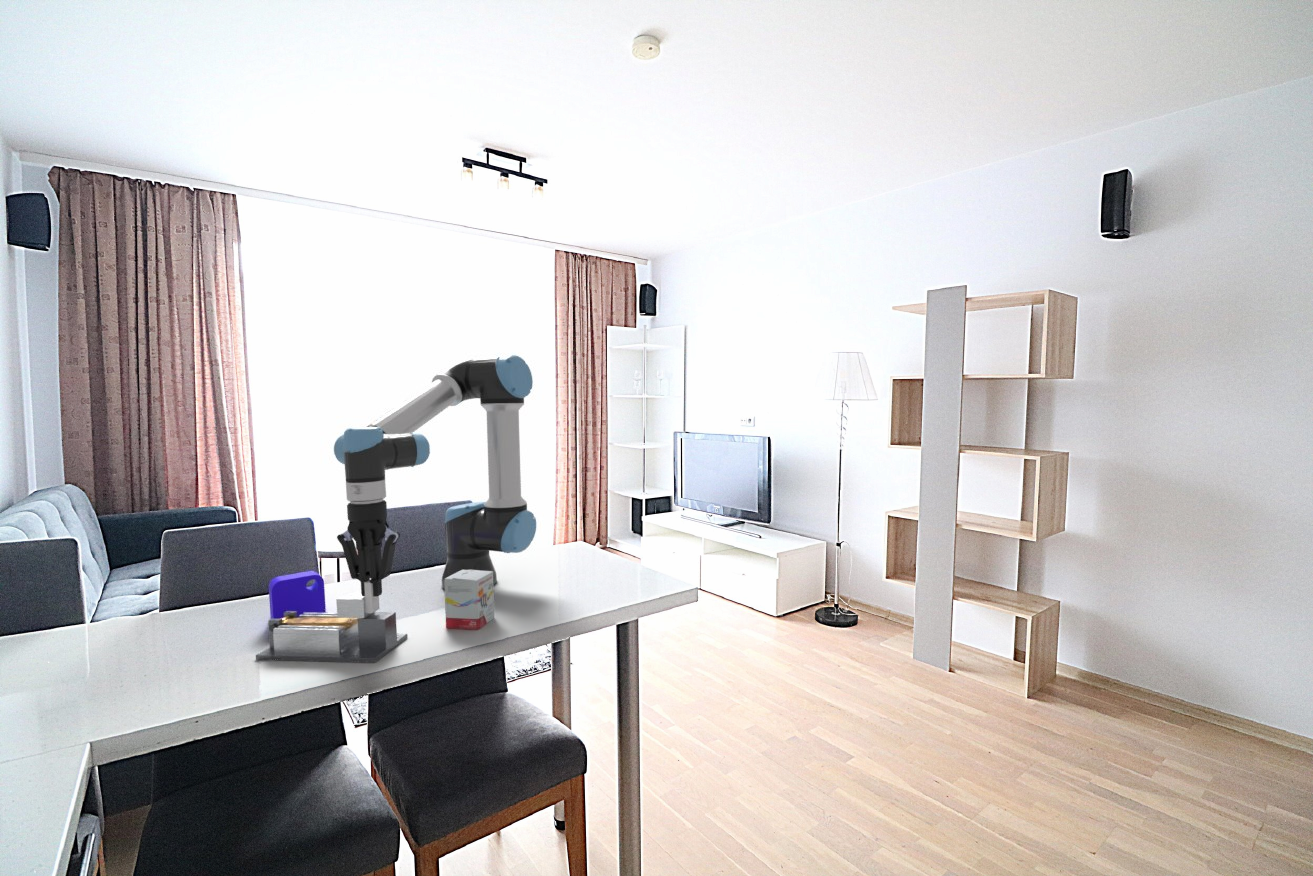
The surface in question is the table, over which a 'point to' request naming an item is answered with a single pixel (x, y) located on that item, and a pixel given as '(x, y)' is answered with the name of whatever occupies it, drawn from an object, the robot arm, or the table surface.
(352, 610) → the white block
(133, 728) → the table surface
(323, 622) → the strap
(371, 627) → the base
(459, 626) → the ink box
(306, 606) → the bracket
